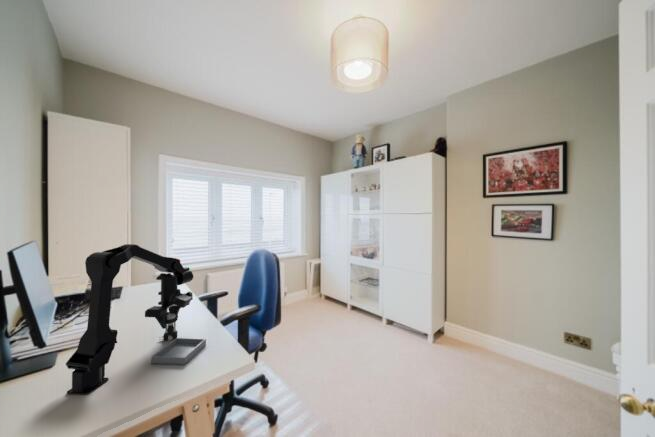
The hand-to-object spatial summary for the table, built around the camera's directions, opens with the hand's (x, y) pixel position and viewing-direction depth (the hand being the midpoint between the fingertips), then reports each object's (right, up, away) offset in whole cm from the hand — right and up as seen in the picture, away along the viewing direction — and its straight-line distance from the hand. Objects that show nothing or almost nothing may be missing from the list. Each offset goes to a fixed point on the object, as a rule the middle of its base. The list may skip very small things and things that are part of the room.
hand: (168, 325), depth 98 cm
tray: (+12, -6, -11) cm, 17 cm away
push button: (0, -6, 0) cm, 6 cm away
